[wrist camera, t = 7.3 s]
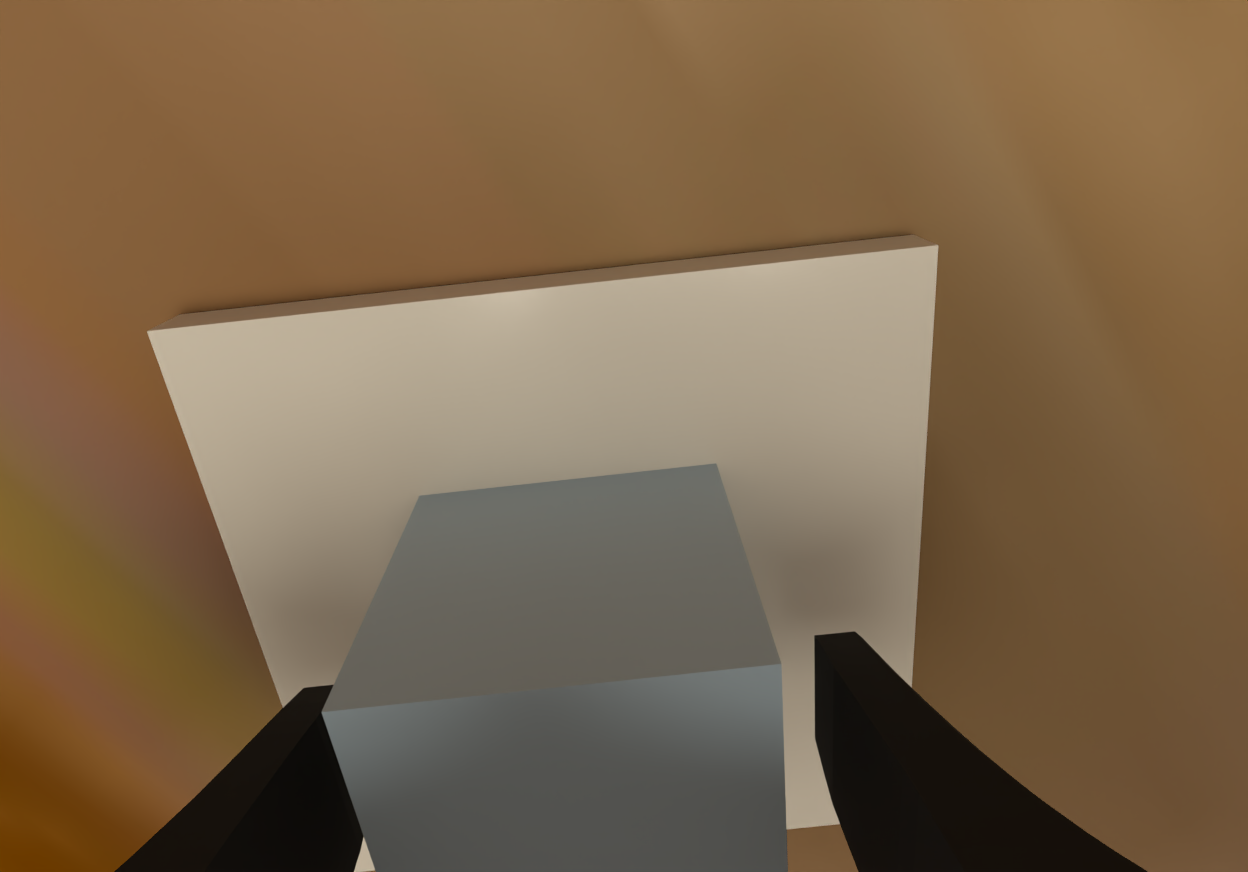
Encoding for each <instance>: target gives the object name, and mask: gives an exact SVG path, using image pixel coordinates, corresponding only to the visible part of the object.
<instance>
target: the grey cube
mask: <svg viewBox="0 0 1248 872" xmlns="http://www.w3.org/2000/svg"><path fill="white" fill-rule="evenodd" d="M321 713H322V715H323V718H324V721H325V724H326V727H327V730H328V733H329V736H330V739H331V742H332V745H333V748H334V751H335V754H336V756H337V759H338V762H339V765H340V768H341V771H342V774H343V777H344V780H345V783H346V786H347V789H348V792H349V795H350V798H351V800H352V803H353V806H354V809H355V812H356V815H357V818H358V821H359V824H360V827H361V830H362V833H363V836H364V839H365V841H366V844H367V847H368V850H369V853H370V856H371V859H372V862H373V865H374V868H375V871H376V872H788V863H787V830H786V797H785V764H784V731H783V698H782V665H781V661H780V658H779V655H778V652H777V649H776V646H775V642H774V639H773V636H772V633H771V630H770V627H769V624H768V621H767V618H766V615H765V612H764V609H763V606H762V603H761V599H760V596H759V593H758V590H757V587H756V584H755V581H754V578H753V575H752V572H751V569H750V566H749V563H748V559H747V556H746V553H745V550H744V547H743V544H742V541H741V538H740V535H739V532H738V529H737V526H736V523H735V520H734V516H733V513H732V510H731V507H730V504H729V501H728V498H727V495H726V492H725V489H724V486H723V483H722V480H721V477H720V473H719V470H718V467H717V464H716V463H715V464H706V465H697V466H688V467H679V468H669V469H660V470H651V471H642V472H633V473H623V474H614V475H605V476H596V477H587V478H578V479H568V480H559V481H550V482H541V483H532V484H522V485H513V486H504V487H495V488H486V489H476V490H467V491H458V492H449V493H440V494H431V495H421V496H419V498H418V500H417V502H416V505H415V507H414V509H413V511H412V513H411V516H410V518H409V520H408V522H407V524H406V527H405V529H404V531H403V533H402V535H401V538H400V540H399V542H398V544H397V546H396V549H395V551H394V553H393V555H392V558H391V560H390V562H389V564H388V566H387V569H386V571H385V573H384V575H383V577H382V580H381V582H380V584H379V586H378V588H377V591H376V593H375V595H374V597H373V599H372V602H371V604H370V606H369V608H368V610H367V613H366V615H365V617H364V619H363V622H362V624H361V626H360V628H359V630H358V633H357V635H356V637H355V639H354V641H353V644H352V646H351V648H350V650H349V652H348V655H347V657H346V659H345V661H344V663H343V666H342V668H341V670H340V672H339V674H338V677H337V679H336V681H335V683H334V685H333V688H332V690H331V692H330V694H329V697H328V699H327V701H326V703H325V705H324V708H323V710H322V712H321Z"/></svg>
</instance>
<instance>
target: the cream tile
mask: <svg viewBox="0 0 1248 872" xmlns="http://www.w3.org/2000/svg"><path fill="white" fill-rule="evenodd" d="M937 260H938V245H937V244H935V243H932V242H930V241H927V240H925V239H923V238H920V237H918V236H916V235H904V236H895V237H886V238H877V239H868V240H858V241H849V242H840V243H831V244H822V245H812V246H803V247H794V248H785V249H776V250H767V251H757V252H748V253H739V254H730V255H721V256H711V257H702V258H693V259H684V260H675V261H666V262H656V263H647V264H638V265H629V266H620V267H610V268H601V269H592V270H583V271H574V272H564V273H555V274H546V275H537V276H528V277H519V278H509V279H500V280H491V281H482V282H473V283H463V284H454V285H445V286H436V287H427V288H417V289H408V290H399V291H390V292H381V293H372V294H362V295H353V296H344V297H335V298H326V299H316V300H307V301H298V302H289V303H280V304H271V305H261V306H252V307H243V308H234V309H225V310H215V311H206V312H197V313H188V314H180V315H178V316H176V317H174V318H172V319H170V320H168V321H166V322H164V323H162V324H160V325H158V326H156V327H154V328H152V329H150V330H148V331H147V333H148V335H149V338H150V341H151V344H152V347H153V349H154V352H155V355H156V358H157V360H158V363H159V366H160V369H161V371H162V374H163V377H164V380H165V383H166V385H167V388H168V391H169V394H170V396H171V399H172V402H173V405H174V407H175V410H176V413H177V416H178V419H179V421H180V424H181V427H182V430H183V432H184V435H185V438H186V441H187V443H188V446H189V449H190V452H191V455H192V457H193V460H194V463H195V466H196V468H197V471H198V474H199V477H200V479H201V482H202V485H203V488H204V491H205V493H206V496H207V499H208V502H209V504H210V507H211V510H212V513H213V515H214V518H215V521H216V524H217V527H218V529H219V532H220V535H221V538H222V540H223V543H224V546H225V549H226V552H227V554H228V557H229V560H230V563H231V565H232V568H233V571H234V574H235V576H236V579H237V582H238V585H239V588H240V590H241V593H242V596H243V599H244V601H245V604H246V607H247V610H248V612H249V615H250V618H251V621H252V624H253V626H254V629H255V632H256V635H257V637H258V640H259V643H260V646H261V648H262V651H263V654H264V657H265V660H266V662H267V665H268V668H269V671H270V673H271V676H272V679H273V682H274V684H275V687H276V690H277V693H278V696H279V698H280V701H281V704H282V707H284V706H285V705H286V704H287V703H288V702H289V701H290V700H291V699H292V698H294V697H295V696H296V695H297V694H298V693H299V692H300V691H301V690H302V689H303V688H306V687H316V686H325V685H334V683H335V681H336V679H337V677H338V674H339V672H340V670H341V668H342V666H343V663H344V661H345V659H346V657H347V655H348V652H349V650H350V648H351V646H352V644H353V641H354V639H355V637H356V635H357V633H358V630H359V628H360V626H361V624H362V622H363V619H364V617H365V615H366V613H367V610H368V608H369V606H370V604H371V602H372V599H373V597H374V595H375V593H376V591H377V588H378V586H379V584H380V582H381V580H382V577H383V575H384V573H385V571H386V569H387V566H388V564H389V562H390V560H391V558H392V555H393V553H394V551H395V549H396V546H397V544H398V542H399V540H400V538H401V535H402V533H403V531H404V529H405V527H406V524H407V522H408V520H409V518H410V516H411V513H412V511H413V509H414V507H415V505H416V502H417V500H418V498H419V496H421V495H431V494H440V493H449V492H458V491H467V490H476V489H486V488H495V487H504V486H513V485H522V484H532V483H541V482H550V481H559V480H568V479H578V478H587V477H596V476H605V475H614V474H623V473H633V472H642V471H651V470H660V469H669V468H679V467H688V466H697V465H706V464H715V463H716V464H717V467H718V470H719V473H720V477H721V480H722V483H723V486H724V489H725V492H726V495H727V498H728V501H729V504H730V507H731V510H732V513H733V516H734V520H735V523H736V526H737V529H738V532H739V535H740V538H741V541H742V544H743V547H744V550H745V553H746V556H747V559H748V563H749V566H750V569H751V572H752V575H753V578H754V581H755V584H756V587H757V590H758V593H759V596H760V599H761V603H762V606H763V609H764V612H765V615H766V618H767V621H768V624H769V627H770V630H771V633H772V636H773V639H774V642H775V646H776V649H777V652H778V655H779V658H780V661H781V665H782V698H783V731H784V764H785V797H786V829H795V828H805V827H815V826H825V825H835V824H840V822H839V820H838V817H837V814H836V812H835V809H834V807H833V804H832V800H831V797H830V793H829V790H828V786H827V782H826V779H825V775H824V771H823V768H822V764H821V760H820V756H819V752H818V748H817V745H816V741H815V659H814V635H823V634H833V633H843V632H853V631H855V632H856V633H857V634H859V635H860V636H861V637H862V638H863V639H864V640H865V641H866V642H867V643H868V644H869V645H870V646H871V647H872V648H873V649H874V650H875V651H876V652H877V653H878V654H879V655H880V656H881V658H882V659H883V660H884V661H885V662H886V663H887V664H888V665H889V666H890V667H891V668H892V669H893V670H894V671H895V672H896V673H897V674H898V675H899V676H900V677H901V678H902V679H903V680H904V681H905V682H906V683H907V684H908V685H909V686H910V687H911V688H912V674H913V657H914V641H915V624H916V607H917V591H918V574H919V558H920V541H921V525H922V508H923V492H924V475H925V458H926V442H927V425H928V409H929V392H930V376H931V359H932V342H933V326H934V309H935V293H936V276H937ZM372 870H375V868H374V865H373V862H372V859H371V856H370V853H369V850H368V847H367V844H366V841H365V839H364V837H363V842H362V846H361V851H360V854H359V857H358V860H357V863H356V867H355V870H354V872H362V871H372Z"/></svg>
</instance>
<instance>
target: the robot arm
mask: <svg viewBox="0 0 1248 872" xmlns="http://www.w3.org/2000/svg"><path fill="white" fill-rule="evenodd" d="M814 659H815V741H816V745H817V748H818V752H819V756H820V760H821V764H822V768H823V771H824V775H825V779H826V782H827V786H828V790H829V793H830V797H831V800H832V804H833V807H834V809H835V812H836V814H837V817H838V820H839V822H840V825H841V827H842V830H843V833H844V835H845V838H846V840H847V843H848V846H849V848H850V851H851V853H852V856H853V858H854V861H855V863H856V866H857V869H858V871H859V872H1147V871H1146V870H1144V869H1143V868H1141V867H1139V866H1138V865H1136V864H1135V863H1133V862H1131V861H1130V860H1128V859H1127V858H1125V857H1123V856H1122V855H1120V854H1119V853H1117V852H1115V851H1114V850H1112V849H1111V848H1109V847H1108V846H1106V845H1105V844H1103V843H1102V842H1100V841H1099V840H1097V839H1096V838H1094V837H1093V836H1091V835H1090V834H1088V833H1087V832H1085V831H1084V830H1083V829H1081V828H1080V827H1078V826H1077V825H1076V824H1074V823H1073V822H1071V821H1070V820H1069V819H1067V818H1066V817H1064V816H1063V815H1062V814H1060V813H1059V812H1057V811H1056V810H1055V809H1053V808H1052V807H1051V806H1049V805H1048V804H1046V803H1045V802H1044V801H1042V800H1041V799H1040V798H1038V797H1037V796H1036V795H1034V794H1033V793H1032V792H1031V791H1029V790H1028V789H1027V788H1025V787H1024V786H1023V785H1022V784H1020V783H1019V782H1018V781H1017V780H1015V779H1014V778H1013V777H1012V776H1010V775H1009V774H1008V773H1007V772H1005V771H1004V770H1003V769H1002V768H1001V767H999V766H998V765H997V764H996V763H995V762H993V761H992V760H991V759H990V758H989V757H987V756H986V755H985V754H984V753H983V752H981V751H980V750H979V749H978V748H977V747H976V746H974V745H973V744H972V743H971V742H970V741H969V740H968V739H966V738H965V737H964V736H963V735H962V734H961V733H960V732H959V731H957V730H956V729H955V728H954V727H953V726H952V725H951V724H950V723H949V722H948V721H947V720H945V719H944V718H943V717H942V716H941V715H940V714H939V713H938V712H937V711H936V710H934V709H933V708H932V707H931V706H930V705H929V704H928V703H927V702H926V701H925V700H924V699H923V698H922V697H921V696H920V695H919V694H918V693H917V692H915V691H914V690H913V689H912V688H911V687H910V686H909V685H908V684H907V683H906V682H905V681H904V680H903V679H902V678H901V677H900V676H899V675H898V674H897V673H896V672H895V671H894V670H893V669H892V668H891V667H890V666H889V665H888V664H887V663H886V662H885V661H884V660H883V659H882V658H881V656H880V655H879V654H878V653H877V652H876V651H875V650H874V649H873V648H872V647H871V646H870V645H869V644H868V643H867V642H866V641H865V640H864V639H863V638H862V637H861V636H860V635H859V634H857V633H856V632H855V631H853V632H843V633H833V634H823V635H814ZM332 688H333V685H325V686H316V687H306V688H303V689H302V690H301V691H300V692H299V693H298V694H297V695H296V696H295V697H294V698H292V699H291V700H290V701H289V702H288V703H287V704H286V705H285V706H284V707H283V708H282V709H281V710H280V711H279V713H278V714H277V715H276V716H275V717H274V718H273V719H272V720H271V721H270V722H269V723H268V724H267V725H266V726H265V727H264V728H263V729H262V730H261V731H260V732H259V733H258V734H257V735H256V736H255V737H254V738H253V739H252V740H251V741H250V742H249V743H248V744H247V745H246V746H245V747H244V748H243V749H242V750H241V751H240V752H239V754H238V755H237V756H236V757H235V758H234V759H233V760H232V761H231V762H230V763H229V764H228V765H227V766H226V767H225V768H224V769H223V770H222V771H221V772H220V773H219V774H218V775H217V776H216V777H215V778H214V779H213V780H212V781H211V782H210V783H209V784H208V785H207V786H206V787H205V788H204V789H203V790H202V791H201V792H200V793H199V794H198V795H197V796H196V797H195V798H194V799H193V800H191V801H190V802H189V803H188V804H187V805H186V806H185V807H184V808H183V809H182V810H181V811H180V812H179V813H178V814H176V815H175V816H174V817H173V818H172V819H171V820H170V821H169V822H168V823H167V824H166V825H165V826H164V827H163V828H161V829H160V830H159V831H158V832H157V833H156V834H155V835H154V836H153V837H152V838H151V839H150V840H149V841H148V842H147V843H145V844H144V845H143V846H142V847H141V848H140V849H139V850H138V851H137V852H136V853H135V854H134V855H133V856H132V857H130V858H129V859H128V860H127V861H126V862H125V863H124V864H122V865H121V866H120V867H119V868H118V869H117V870H116V871H115V872H354V870H355V867H356V863H357V860H358V857H359V854H360V851H361V846H362V842H363V837H364V836H363V833H362V830H361V827H360V824H359V821H358V818H357V815H356V812H355V809H354V806H353V803H352V800H351V798H350V795H349V792H348V789H347V786H346V783H345V780H344V777H343V774H342V771H341V768H340V765H339V762H338V759H337V756H336V754H335V751H334V748H333V745H332V742H331V739H330V736H329V733H328V730H327V727H326V724H325V721H324V718H323V715H322V713H321V712H322V710H323V708H324V705H325V703H326V701H327V699H328V697H329V694H330V692H331V690H332Z"/></svg>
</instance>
